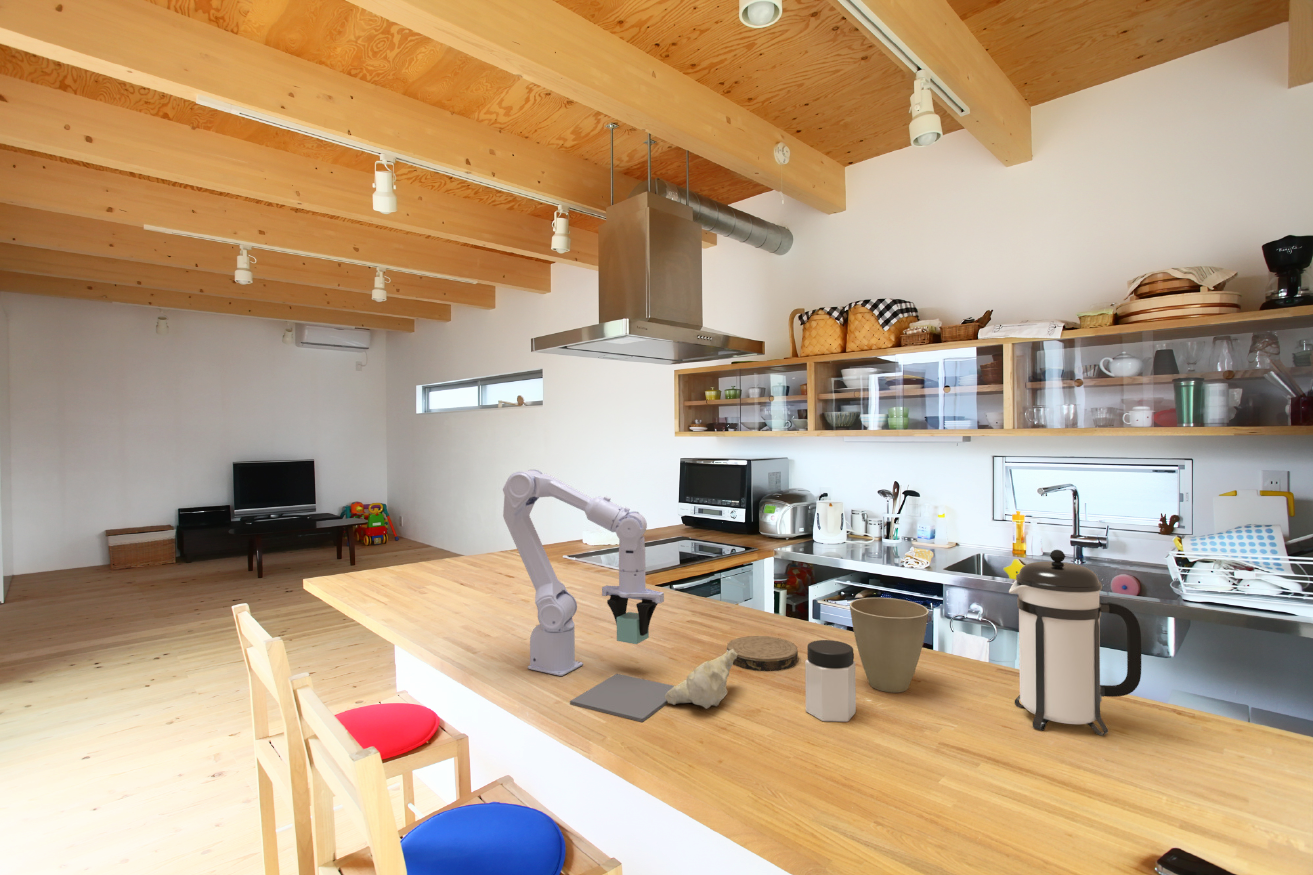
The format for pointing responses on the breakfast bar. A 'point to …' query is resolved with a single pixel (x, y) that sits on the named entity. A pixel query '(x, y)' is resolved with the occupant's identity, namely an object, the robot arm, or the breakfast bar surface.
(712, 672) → the conch shell
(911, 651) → the plant pot
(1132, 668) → the coffee press
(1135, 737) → the breakfast bar surface
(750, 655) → the round wood slice
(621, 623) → the block
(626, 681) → the mat
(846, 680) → the jar
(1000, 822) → the breakfast bar surface
